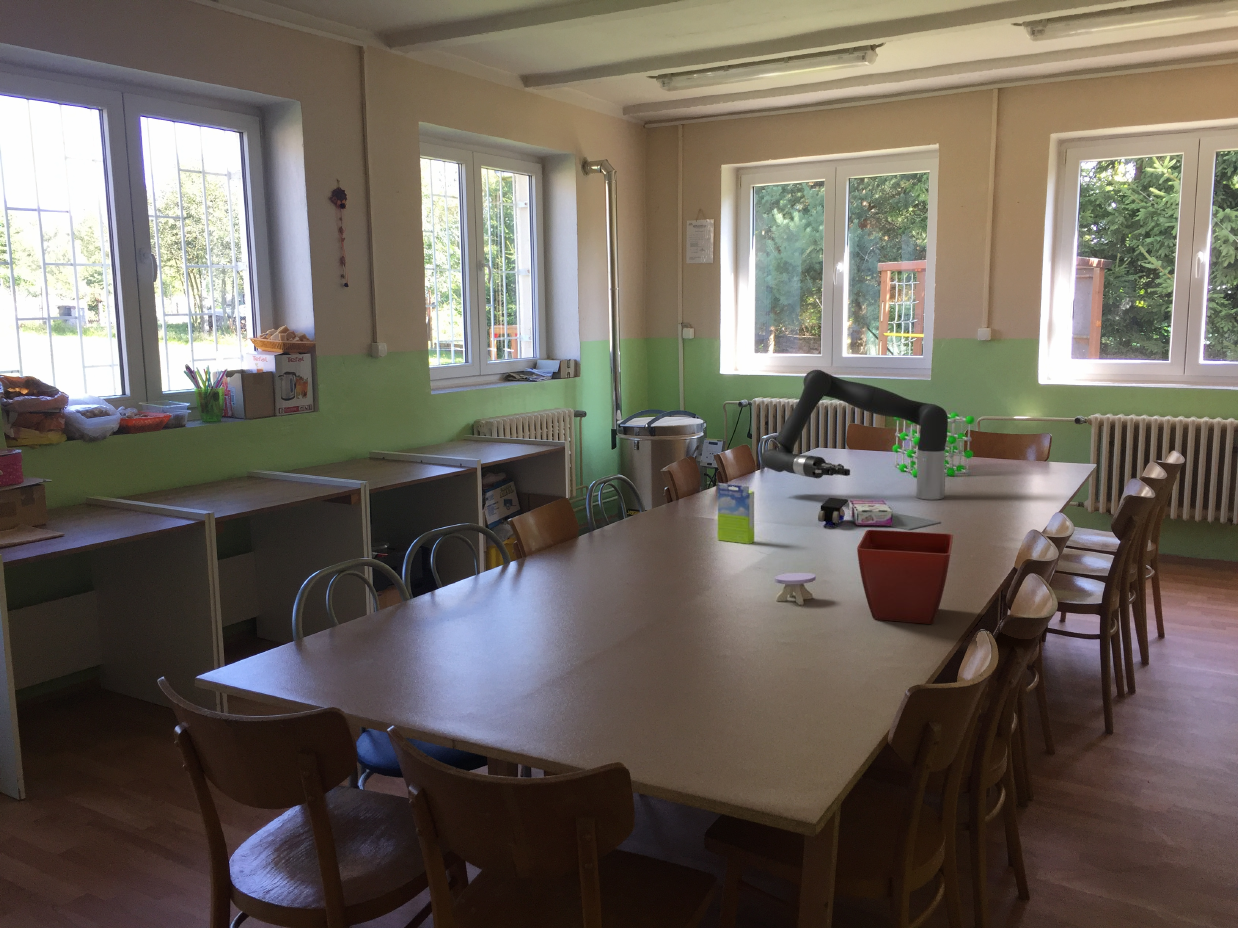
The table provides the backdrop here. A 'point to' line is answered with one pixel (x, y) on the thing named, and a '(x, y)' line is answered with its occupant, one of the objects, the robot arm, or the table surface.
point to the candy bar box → (870, 512)
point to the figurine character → (832, 511)
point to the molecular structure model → (953, 449)
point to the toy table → (794, 586)
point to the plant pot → (904, 573)
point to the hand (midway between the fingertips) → (848, 472)
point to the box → (735, 514)
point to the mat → (910, 522)
